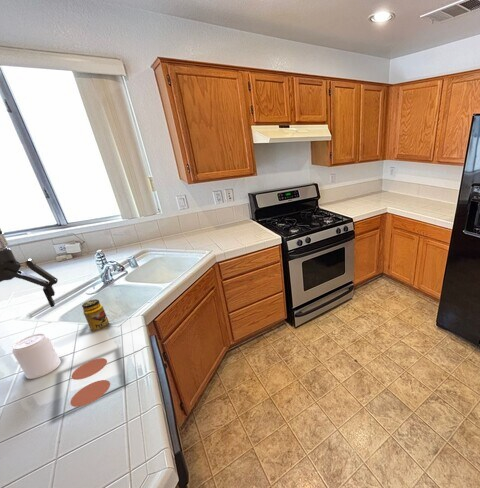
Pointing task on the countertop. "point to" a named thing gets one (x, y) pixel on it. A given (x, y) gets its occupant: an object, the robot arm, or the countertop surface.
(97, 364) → the mat
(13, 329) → the countertop surface
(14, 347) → the white upturned tub
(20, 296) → the countertop surface
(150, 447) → the countertop surface
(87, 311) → the condiment
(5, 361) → the countertop surface
